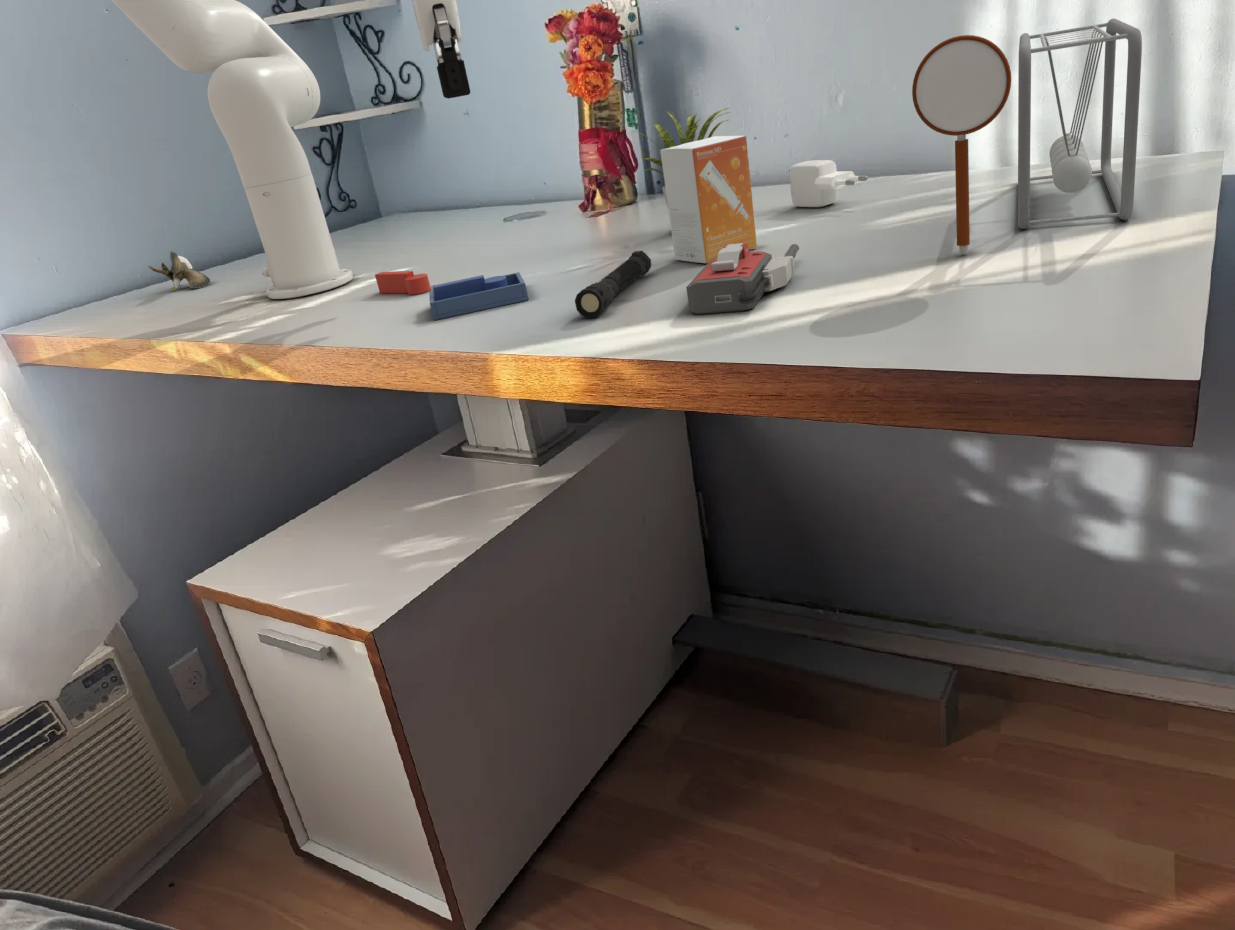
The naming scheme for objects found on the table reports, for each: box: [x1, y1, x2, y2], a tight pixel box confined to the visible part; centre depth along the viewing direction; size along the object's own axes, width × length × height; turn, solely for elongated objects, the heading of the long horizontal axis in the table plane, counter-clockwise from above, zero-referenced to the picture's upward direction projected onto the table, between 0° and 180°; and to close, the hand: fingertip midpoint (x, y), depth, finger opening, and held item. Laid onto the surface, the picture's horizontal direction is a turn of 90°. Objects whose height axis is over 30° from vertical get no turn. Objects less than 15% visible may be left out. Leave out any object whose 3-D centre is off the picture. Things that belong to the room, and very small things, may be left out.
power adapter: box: [789, 159, 869, 208], centre depth 126 cm, size 11×5×6 cm, turn 37°
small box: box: [659, 135, 758, 264], centre depth 108 cm, size 8×6×13 cm
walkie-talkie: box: [685, 243, 800, 315], centre depth 93 cm, size 9×4×20 cm
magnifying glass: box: [911, 34, 1012, 256], centre depth 88 cm, size 9×2×20 cm, turn 65°
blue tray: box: [428, 271, 529, 321], centre depth 108 cm, size 11×7×2 cm, turn 102°
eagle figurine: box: [148, 250, 211, 292], centre depth 157 cm, size 8×7×9 cm
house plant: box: [632, 107, 731, 208], centre depth 125 cm, size 14×14×16 cm
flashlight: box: [574, 250, 652, 319], centre depth 100 cm, size 3×16×3 cm, turn 160°
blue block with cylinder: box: [432, 274, 508, 301], centre depth 108 cm, size 8×3×3 cm, turn 102°
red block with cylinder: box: [374, 270, 432, 296], centre depth 122 cm, size 8×3×3 cm, turn 57°
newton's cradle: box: [1017, 18, 1143, 230], centre depth 102 cm, size 30×10×18 cm, turn 159°
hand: (456, 96), depth 120 cm, fingers open, 9 cm apart
